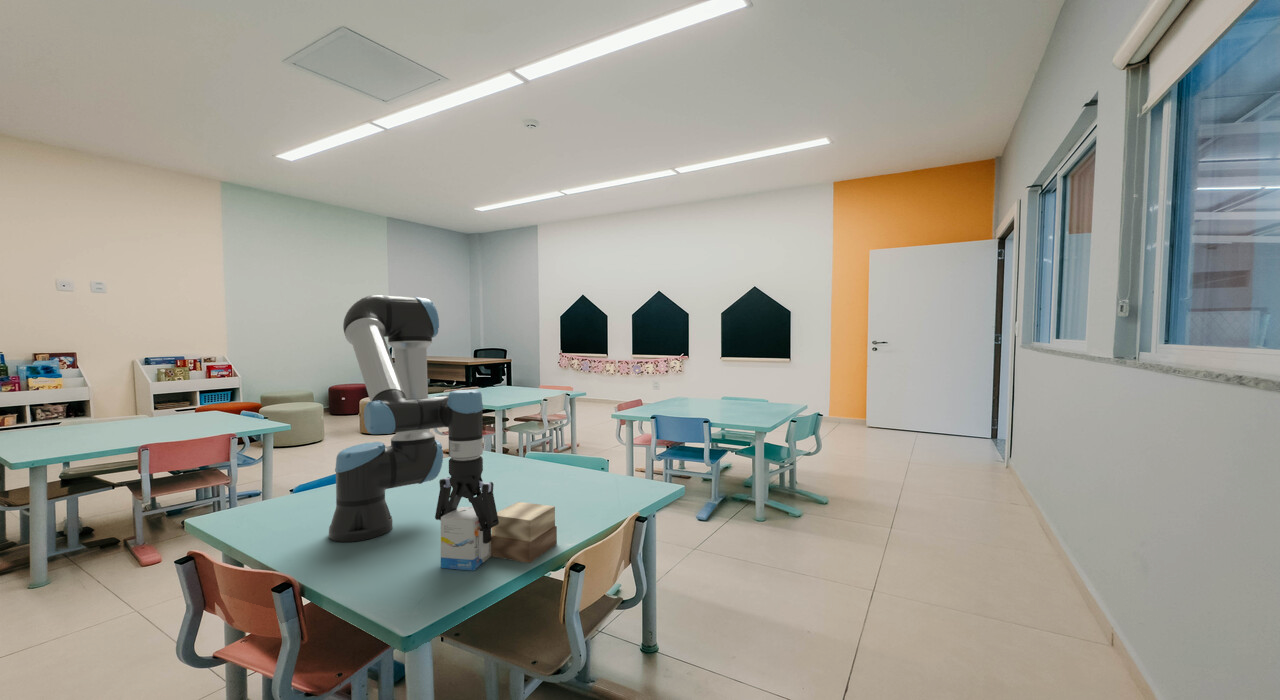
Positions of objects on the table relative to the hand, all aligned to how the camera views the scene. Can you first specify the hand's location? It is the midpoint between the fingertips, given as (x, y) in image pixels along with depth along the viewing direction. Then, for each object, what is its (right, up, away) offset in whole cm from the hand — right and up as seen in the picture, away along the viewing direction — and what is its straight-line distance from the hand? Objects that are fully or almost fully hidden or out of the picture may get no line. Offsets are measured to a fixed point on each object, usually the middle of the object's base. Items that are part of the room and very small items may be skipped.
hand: (466, 553), depth 118 cm
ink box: (0, -2, 0) cm, 2 cm away
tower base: (+11, -2, +7) cm, 14 cm away
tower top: (+12, +3, +7) cm, 14 cm away
